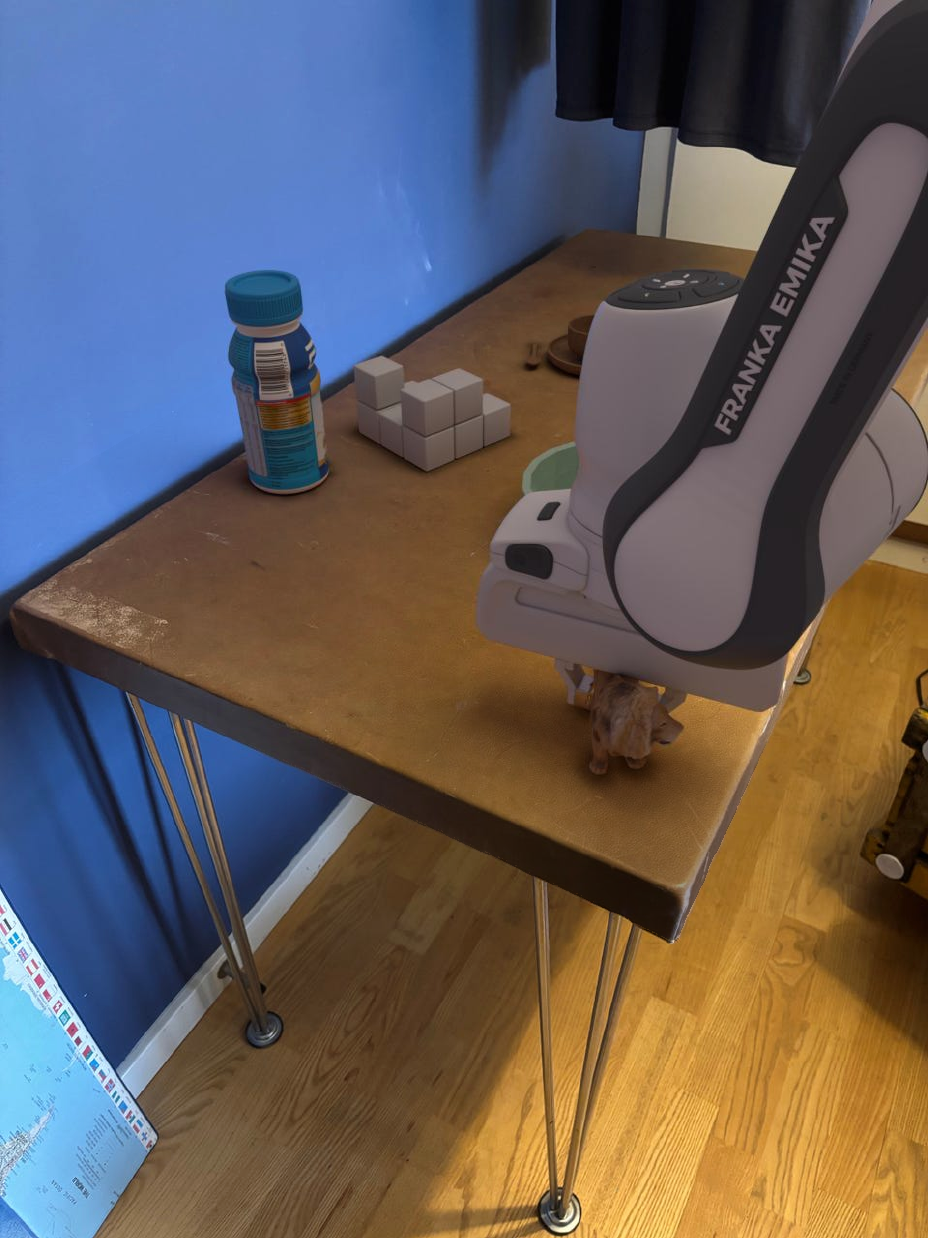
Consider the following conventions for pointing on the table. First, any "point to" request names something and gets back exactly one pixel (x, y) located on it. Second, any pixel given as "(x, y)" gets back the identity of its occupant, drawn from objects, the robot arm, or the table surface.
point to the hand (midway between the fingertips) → (616, 710)
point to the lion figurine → (627, 721)
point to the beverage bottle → (276, 383)
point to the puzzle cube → (427, 413)
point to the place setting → (567, 346)
